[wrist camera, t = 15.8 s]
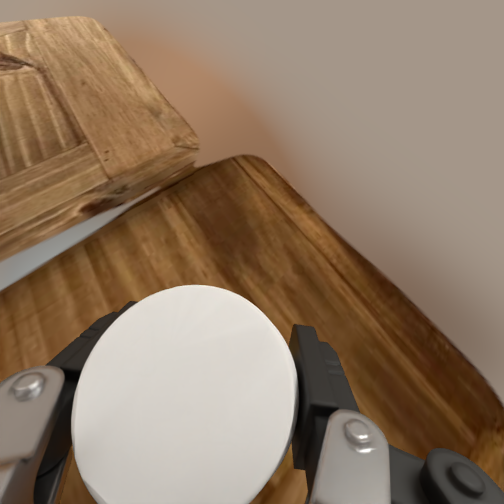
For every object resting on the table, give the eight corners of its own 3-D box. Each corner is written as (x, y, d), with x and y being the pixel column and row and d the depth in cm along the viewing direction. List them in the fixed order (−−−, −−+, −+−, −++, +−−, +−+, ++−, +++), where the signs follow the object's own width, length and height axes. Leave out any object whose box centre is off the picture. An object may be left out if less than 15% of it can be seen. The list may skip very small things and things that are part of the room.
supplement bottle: (159, 348, 14) (35, 284, 5) (255, 322, 15) (280, 232, 6) (172, 471, 12) (-13, 708, 3) (285, 432, 12) (392, 527, 4)
